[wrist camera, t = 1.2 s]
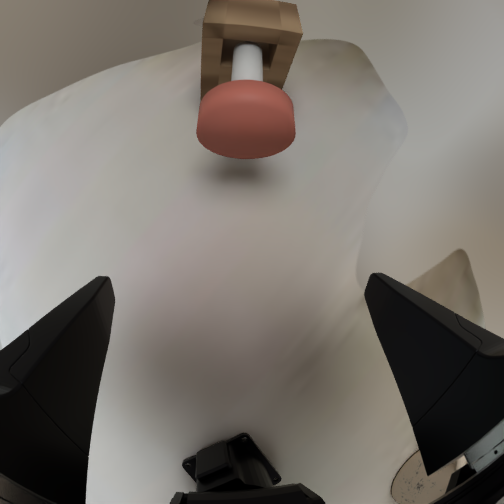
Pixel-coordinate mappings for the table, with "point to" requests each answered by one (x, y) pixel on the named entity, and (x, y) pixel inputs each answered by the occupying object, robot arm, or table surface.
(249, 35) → the sleeve
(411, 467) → the teacup with lid
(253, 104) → the plunger
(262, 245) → the table surface
